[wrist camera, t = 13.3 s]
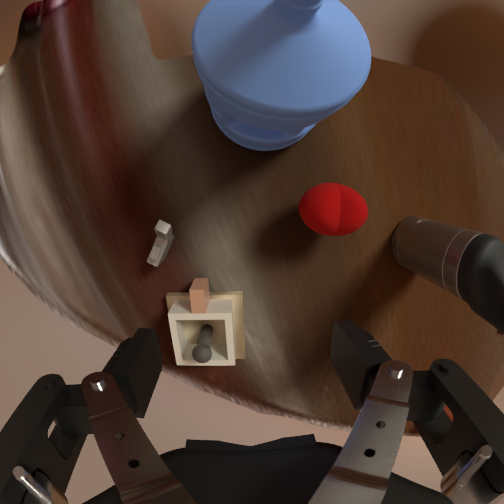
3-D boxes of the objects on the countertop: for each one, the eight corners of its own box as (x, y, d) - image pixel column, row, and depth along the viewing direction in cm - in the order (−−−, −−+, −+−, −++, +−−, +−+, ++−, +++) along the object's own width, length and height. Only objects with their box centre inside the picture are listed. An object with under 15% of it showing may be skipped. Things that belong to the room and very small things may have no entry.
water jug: (194, 85, 35) (139, -37, 8) (284, 49, 34) (332, -75, 7) (241, 170, 39) (246, 126, 11) (331, 127, 38) (454, 60, 10)
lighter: (164, 259, 41) (149, 275, 33) (155, 254, 41) (137, 269, 33) (183, 218, 40) (170, 225, 32) (173, 213, 40) (157, 219, 32)
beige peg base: (242, 291, 43) (243, 319, 33) (245, 353, 46) (246, 390, 36) (168, 292, 42) (150, 320, 33) (178, 354, 45) (166, 389, 35)
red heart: (348, 186, 40) (378, 187, 30) (344, 230, 41) (372, 243, 32) (290, 180, 39) (306, 178, 30) (287, 227, 41) (302, 238, 31)
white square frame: (231, 277, 41) (230, 288, 36) (235, 347, 44) (235, 365, 39) (172, 278, 40) (164, 290, 35) (182, 348, 43) (177, 365, 38)
